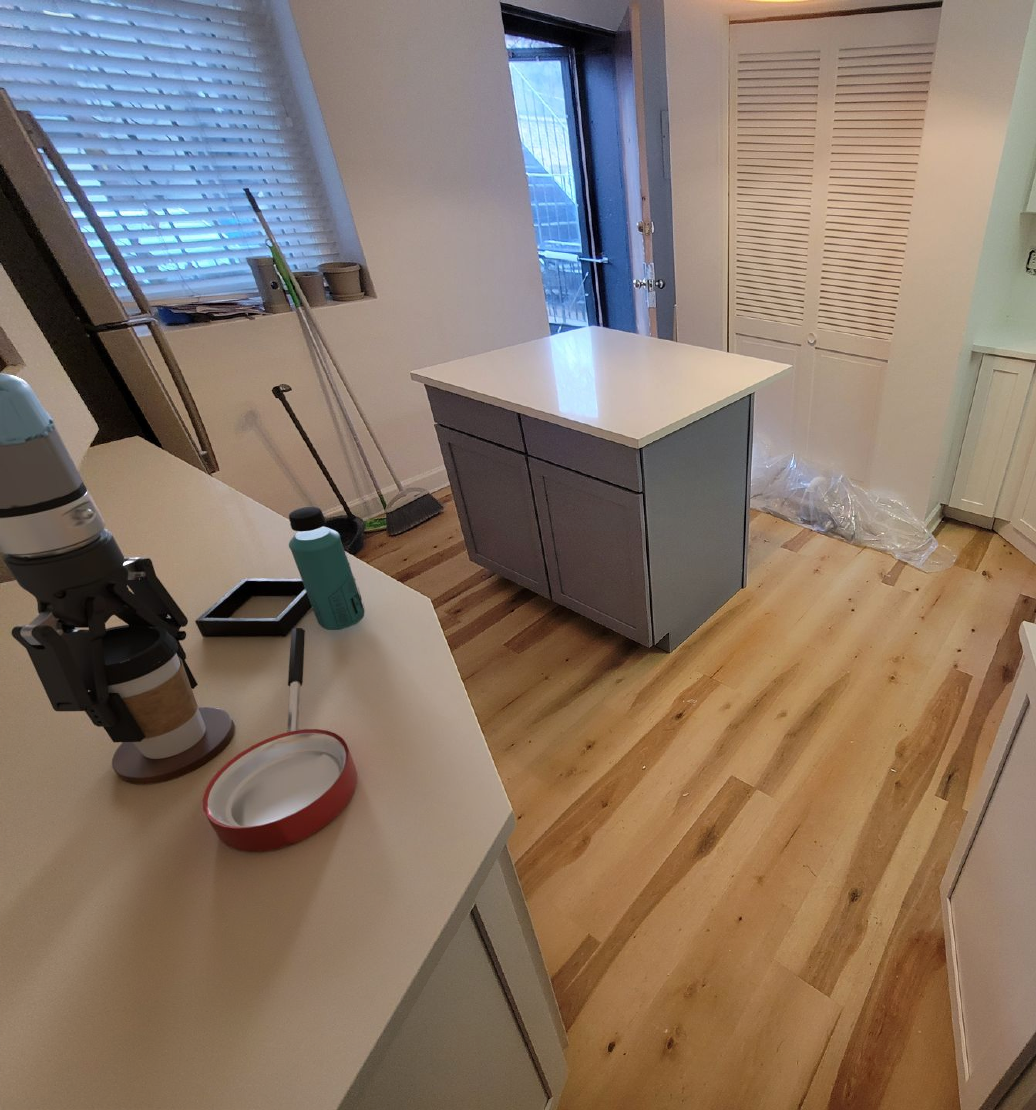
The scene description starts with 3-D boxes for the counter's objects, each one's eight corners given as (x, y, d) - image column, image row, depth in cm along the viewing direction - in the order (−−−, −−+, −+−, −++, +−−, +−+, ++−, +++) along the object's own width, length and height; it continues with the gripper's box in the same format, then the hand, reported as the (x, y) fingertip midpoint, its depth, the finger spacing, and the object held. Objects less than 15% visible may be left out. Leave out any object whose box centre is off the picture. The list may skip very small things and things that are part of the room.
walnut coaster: (89, 785, 68) (84, 778, 67) (162, 713, 77) (158, 707, 77) (195, 783, 69) (191, 776, 68) (254, 712, 78) (251, 706, 78)
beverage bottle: (366, 634, 93) (328, 518, 83) (315, 642, 91) (271, 524, 80) (371, 610, 98) (336, 498, 88) (323, 617, 96) (282, 503, 86)
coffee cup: (148, 720, 75) (90, 623, 67) (230, 708, 77) (183, 613, 69) (111, 774, 68) (41, 673, 60) (202, 759, 70) (146, 660, 63)
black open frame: (202, 637, 90) (194, 621, 89) (250, 593, 100) (244, 578, 99) (285, 637, 91) (278, 621, 90) (324, 593, 101) (319, 578, 100)
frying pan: (231, 683, 82) (214, 646, 79) (342, 653, 89) (330, 618, 86) (213, 877, 60) (187, 837, 57) (364, 819, 66) (348, 780, 63)
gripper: (-5, 600, 50) (122, 784, 62) (175, 496, 68) (247, 654, 79) (-107, 600, 49) (41, 786, 61) (101, 494, 67) (186, 654, 78)
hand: (158, 711), depth 70 cm, fingers closed on coffee cup, 8 cm apart
